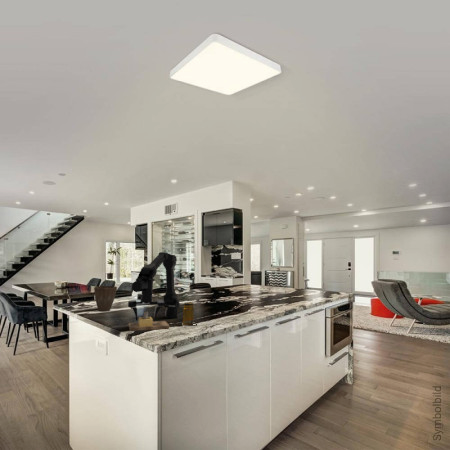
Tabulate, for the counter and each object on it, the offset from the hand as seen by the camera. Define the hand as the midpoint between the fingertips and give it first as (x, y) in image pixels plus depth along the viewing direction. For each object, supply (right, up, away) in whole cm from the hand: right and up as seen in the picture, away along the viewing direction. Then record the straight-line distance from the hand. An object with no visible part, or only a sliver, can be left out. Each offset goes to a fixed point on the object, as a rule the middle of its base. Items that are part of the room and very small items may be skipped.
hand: (145, 319), depth 160 cm
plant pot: (-41, -8, +46) cm, 62 cm away
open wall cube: (0, -3, 0) cm, 3 cm away
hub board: (+1, -4, +1) cm, 5 cm away
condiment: (+22, -6, +10) cm, 25 cm away
